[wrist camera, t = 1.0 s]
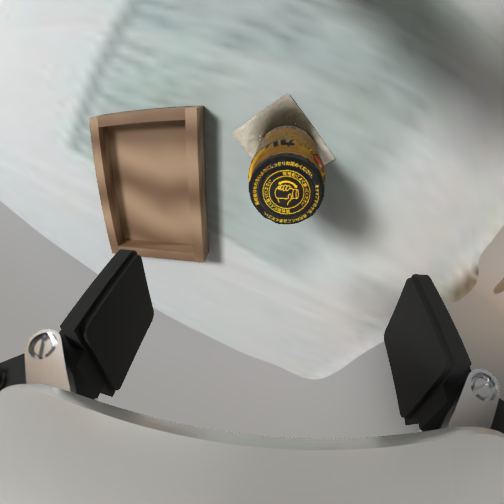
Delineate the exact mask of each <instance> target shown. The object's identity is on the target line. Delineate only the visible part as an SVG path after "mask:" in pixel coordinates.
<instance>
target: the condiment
mask: <svg viewBox="0 0 504 504" xmlns="http://www.w3.org/2000/svg"><path fill="white" fill-rule="evenodd" d="M295 123H296V124H295ZM232 135H233V136H234V137H235V139H236V140H237V141H238V142H239V143H240V144H241V146H242V147H243V148H244V149H245V151H246V152H247V153H248V154H249V156H250V157H251V158H252V159H253V160H252V162H251V165H250V170H249V176H248V178H249V193H250V197H251V198H250V199H251V201H252V203H253V205H254V206H255V207H256V209H257V210H258V212H260V213H261V215H263V216H264V217H265V218H267V219H270V220H272V221H273V222H275V223H278V224H295V223H298V222H301V221H303V220H305V219H307V218H309V217H311V216H312V215H313V214H314V213H315V212H316V210H317V209H318V208H319V206H320V204H321V202H322V200H323V197H324V186H325V168H324V165H326V164H328V163H329V162H331V161H332V160H334V159H335V158H334V157H333V155H332V154H331V152H330V151H329V149H328V148H327V146H326V145H325V143H324V142H323V140H322V139H321V137H320V136H319V134H318V133H317V132H316V130H315V129H314V127H313V126H312V125H311V123H310V122H309V120H308V119H307V118H306V116H305V115H304V114H303V112H302V111H301V110H300V108H299V107H298V106H297V104H296V103H295V102H294V100H293V99H292V98H291V96H290V95H289V94H286V95H285V96H283V97H282V98H280V99H279V100H277V101H276V102H274V103H273V104H271V105H270V106H269V107H267V108H266V109H264V110H263V111H261V112H260V113H259V114H257V115H256V116H255V117H253V118H252V119H250V120H249V121H248V122H246V123H245V124H243V125H242V126H241V127H239V128H238V129H237V130H235V131H234V132H233V133H232ZM259 135H261V136H260V137H259ZM259 139H261V140H260V141H259Z"/></svg>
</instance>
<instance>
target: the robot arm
mask: <svg viewBox="0 0 504 504" xmlns="http://www.w3.org/2000/svg"><path fill="white" fill-rule="evenodd" d="M153 316H154V311H153V306H152V302H151V298H150V294H149V290H148V286H147V281H146V277H145V272H144V268H143V263H142V258H141V256H140V255H138V254H137V252H136V251H134V250H125V249H120V250H119V251H118V252H117V253H116V254H115V255H114V257H113V258H112V259H111V260H110V261H109V263H108V264H107V265H106V266H105V268H104V269H103V270H102V271H101V273H100V274H99V275H98V277H97V278H96V279H95V280H94V281H93V283H92V284H91V285H90V287H89V288H88V289H87V290H86V292H85V293H84V294H83V295H82V297H81V298H80V300H79V301H78V302H77V304H76V305H75V306H74V307H73V309H72V310H71V312H70V313H69V314H68V316H67V317H66V318H65V320H64V321H63V323H62V324H61V326H60V327H61V331H60V332H59V333H58V332H57V331H55V330H52V329H44V330H41V331H38V332H36V333H35V334H34V335H32V336H31V337H30V339H29V340H28V341H27V343H26V346H25V353H24V354H22V355H19V356H17V357H14V358H12V359H9V360H7V361H4V362H2V363H0V504H504V401H503V400H501V399H500V398H499V396H500V387H499V384H498V381H497V380H496V378H495V377H494V375H493V374H491V373H490V372H489V371H487V370H484V369H479V368H478V369H475V370H473V371H471V369H470V365H471V361H470V359H469V357H468V354H467V352H466V349H465V347H464V345H463V342H462V340H461V338H460V336H459V334H458V331H457V329H456V327H455V325H454V323H453V321H452V319H451V317H450V315H449V313H448V311H447V309H446V307H445V305H444V303H443V301H442V299H441V297H440V295H439V293H438V291H437V289H436V287H435V286H434V284H433V282H432V280H431V278H430V277H429V276H428V275H418V274H414V275H412V277H411V278H408V279H407V281H406V283H405V286H404V288H403V291H402V293H401V296H400V298H399V301H398V303H397V306H396V308H395V310H394V313H393V315H392V317H391V319H390V322H389V324H388V326H387V328H386V330H385V334H384V341H385V345H386V349H387V354H388V357H389V362H390V366H391V371H392V375H393V380H394V385H395V389H396V394H397V399H398V405H399V410H400V415H401V417H403V418H405V424H406V425H411V424H418V423H419V427H420V430H419V432H417V433H409V434H401V435H391V436H379V437H366V438H343V439H342V438H340V439H311V438H309V439H307V438H285V437H270V436H258V435H249V434H240V433H233V432H225V431H219V430H212V429H206V428H201V427H195V426H190V425H185V424H180V423H176V422H171V421H166V420H162V419H158V418H154V417H150V416H146V415H142V414H139V413H135V412H132V411H128V410H125V409H121V408H118V407H115V406H111V405H108V404H105V403H102V402H99V401H98V396H99V394H100V393H102V394H105V395H108V396H111V397H112V396H113V395H114V393H115V390H119V389H120V387H121V385H122V383H123V381H124V379H125V376H126V374H127V372H128V370H129V368H130V366H131V364H132V361H133V359H134V357H135V355H136V353H137V351H138V349H139V346H140V344H141V342H142V340H143V338H144V336H145V334H146V332H147V330H148V328H149V326H150V324H151V322H152V319H153Z"/></svg>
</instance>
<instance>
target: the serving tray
mask: <svg viewBox="0 0 504 504" xmlns="http://www.w3.org/2000/svg"><path fill="white" fill-rule="evenodd" d="M89 121H90V132H91V141H92V149H93V156H94V163H95V170H96V177H97V183H98V188H99V194H100V199H101V204H102V209H103V214H104V219H105V224H106V228H107V233H108V237H109V241H110V245H111V249H112V253H115V254H116V253H117V252H118V251H119V250H120V249H125V250H134V251H136V252H137V254H138V255H140V256H144V257H154V258H164V259H174V260H184V261H194V262H204V261H205V259H206V256H207V254H208V252H209V247H208V230H207V210H206V187H205V157H204V106H185V107H168V108H155V109H144V110H135V111H126V112H118V113H111V114H104V115H99V116H96V117H93V118H90V119H89Z"/></svg>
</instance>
